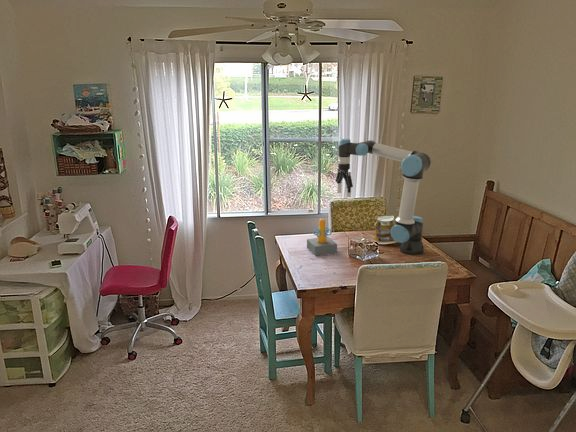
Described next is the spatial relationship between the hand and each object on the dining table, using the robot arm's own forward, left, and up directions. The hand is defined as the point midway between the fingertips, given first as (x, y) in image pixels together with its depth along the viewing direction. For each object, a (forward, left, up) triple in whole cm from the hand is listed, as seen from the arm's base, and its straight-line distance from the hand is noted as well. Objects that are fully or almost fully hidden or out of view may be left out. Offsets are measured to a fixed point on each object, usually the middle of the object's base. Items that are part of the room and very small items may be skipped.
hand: (343, 195), depth 324 cm
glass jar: (-7, -30, -33) cm, 46 cm away
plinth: (-9, +19, -33) cm, 39 cm away
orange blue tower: (-10, +19, -27) cm, 34 cm away
